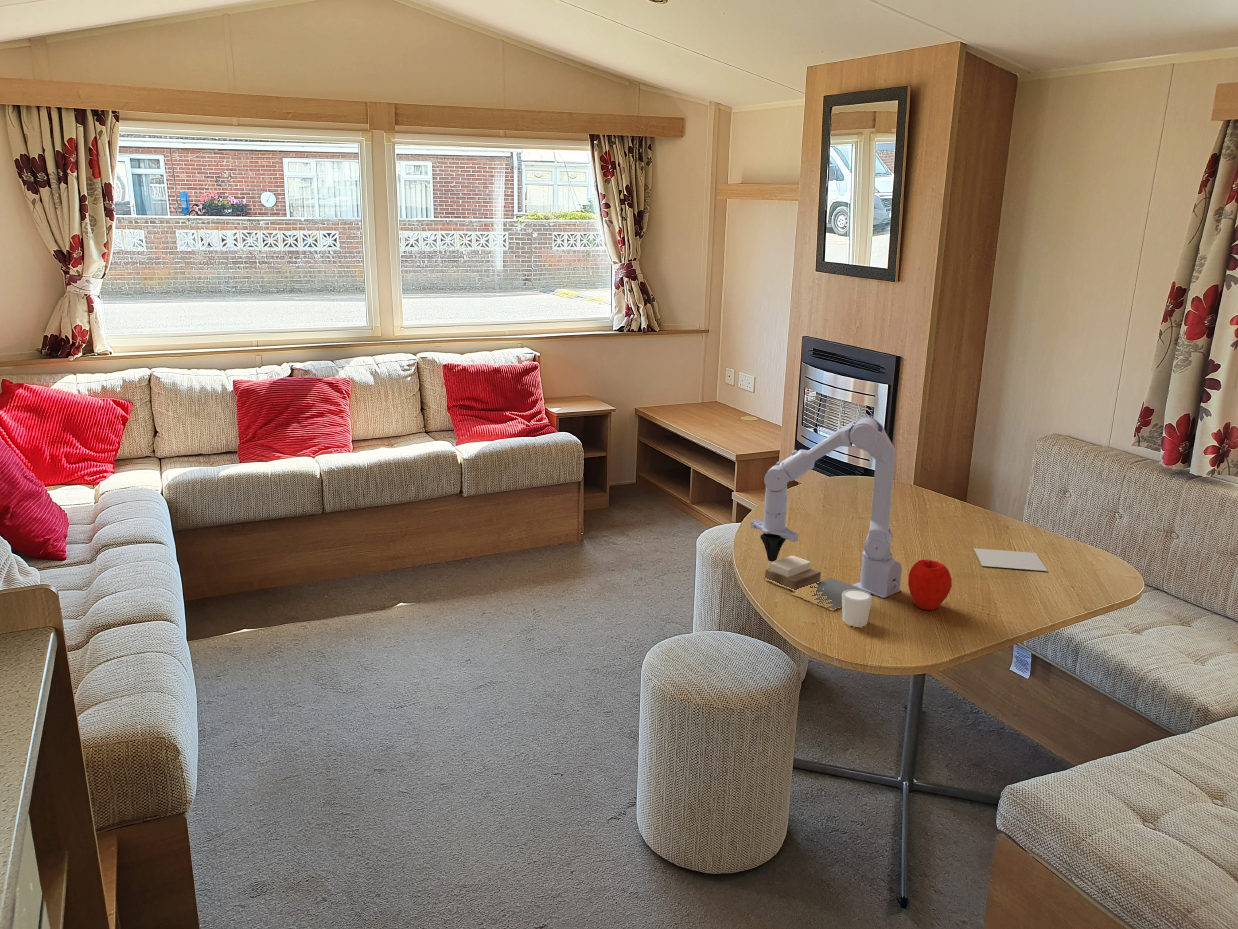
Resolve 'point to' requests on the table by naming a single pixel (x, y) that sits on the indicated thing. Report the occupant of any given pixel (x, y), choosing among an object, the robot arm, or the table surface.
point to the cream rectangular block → (790, 566)
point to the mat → (833, 591)
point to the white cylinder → (856, 607)
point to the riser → (795, 578)
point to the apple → (929, 583)
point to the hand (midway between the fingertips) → (772, 560)
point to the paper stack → (1010, 559)
